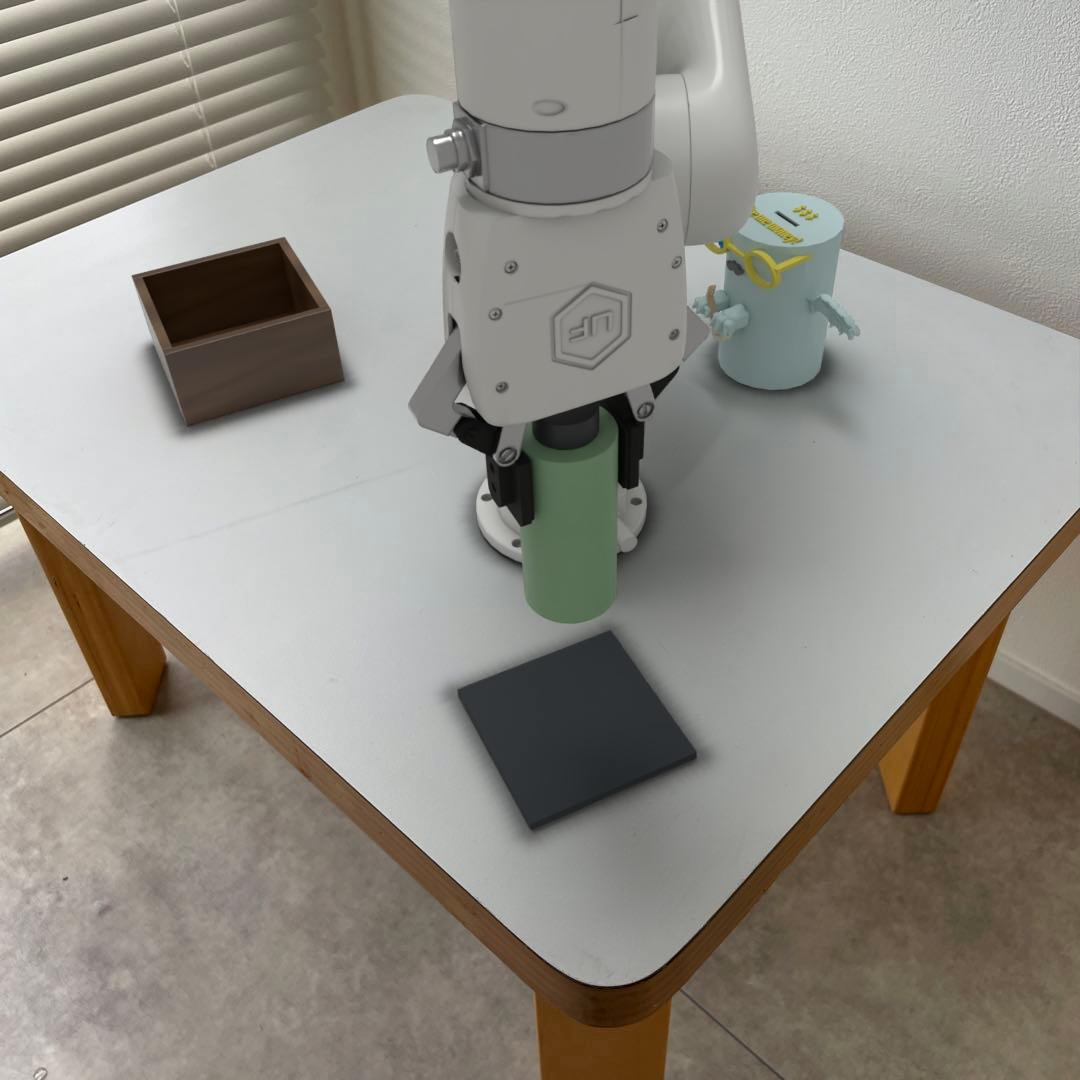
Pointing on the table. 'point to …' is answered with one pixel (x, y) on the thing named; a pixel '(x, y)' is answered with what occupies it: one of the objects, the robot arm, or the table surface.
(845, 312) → the character sculpture
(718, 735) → the table surface
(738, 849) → the table surface
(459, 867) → the table surface
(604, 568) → the bottle
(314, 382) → the open box
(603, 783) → the mat
